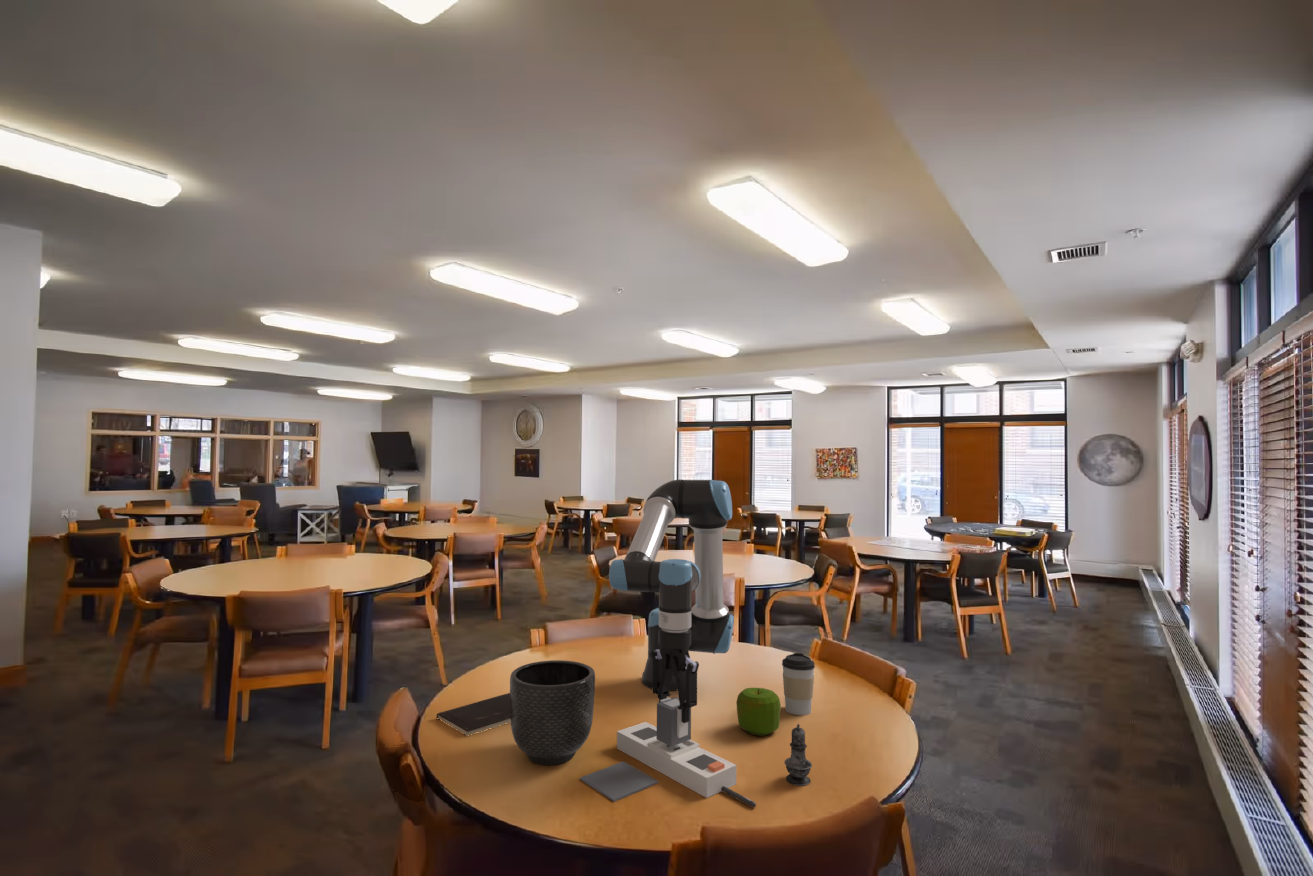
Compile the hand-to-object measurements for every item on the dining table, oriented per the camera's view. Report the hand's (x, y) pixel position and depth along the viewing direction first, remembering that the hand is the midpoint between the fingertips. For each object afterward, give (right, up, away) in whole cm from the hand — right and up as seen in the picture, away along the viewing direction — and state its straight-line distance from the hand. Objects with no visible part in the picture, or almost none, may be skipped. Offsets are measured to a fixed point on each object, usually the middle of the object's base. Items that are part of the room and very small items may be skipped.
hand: (673, 731), depth 145 cm
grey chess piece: (+27, -8, -7) cm, 29 cm away
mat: (-12, -7, -8) cm, 16 cm away
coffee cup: (+36, -10, +33) cm, 50 cm away
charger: (0, -2, 0) cm, 2 cm away
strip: (+3, -7, -4) cm, 9 cm away
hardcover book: (-49, -9, +26) cm, 56 cm away
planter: (-28, -7, +4) cm, 30 cm away
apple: (+22, -9, +19) cm, 31 cm away
